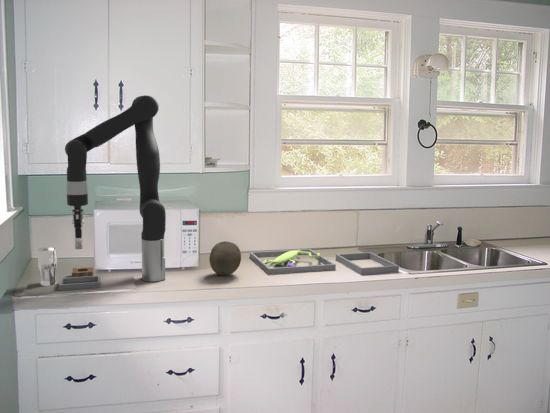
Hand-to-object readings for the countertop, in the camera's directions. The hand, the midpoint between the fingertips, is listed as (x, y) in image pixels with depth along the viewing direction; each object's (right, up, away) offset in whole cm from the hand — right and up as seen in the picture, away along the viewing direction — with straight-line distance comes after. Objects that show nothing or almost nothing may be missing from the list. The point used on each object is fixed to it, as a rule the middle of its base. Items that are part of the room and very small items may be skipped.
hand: (78, 236), depth 203 cm
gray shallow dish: (+119, -16, +45) cm, 128 cm away
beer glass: (-14, -20, +4) cm, 24 cm away
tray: (0, -20, +3) cm, 20 cm away
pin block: (-3, -18, +14) cm, 23 cm away
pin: (0, -5, +1) cm, 5 cm away
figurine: (+85, -16, +48) cm, 98 cm away
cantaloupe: (+55, -19, +23) cm, 62 cm away
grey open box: (+84, -15, +47) cm, 97 cm away
